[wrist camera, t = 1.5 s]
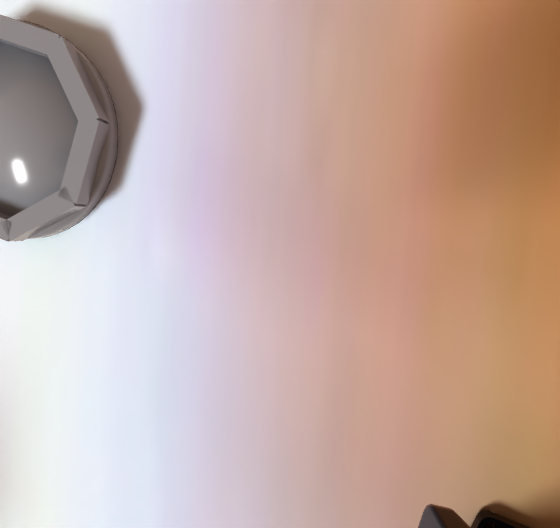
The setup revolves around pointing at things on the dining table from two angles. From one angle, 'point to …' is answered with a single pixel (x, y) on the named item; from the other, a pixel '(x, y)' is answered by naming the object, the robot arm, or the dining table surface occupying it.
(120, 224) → the dining table surface
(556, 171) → the dining table surface
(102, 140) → the slate saucer
